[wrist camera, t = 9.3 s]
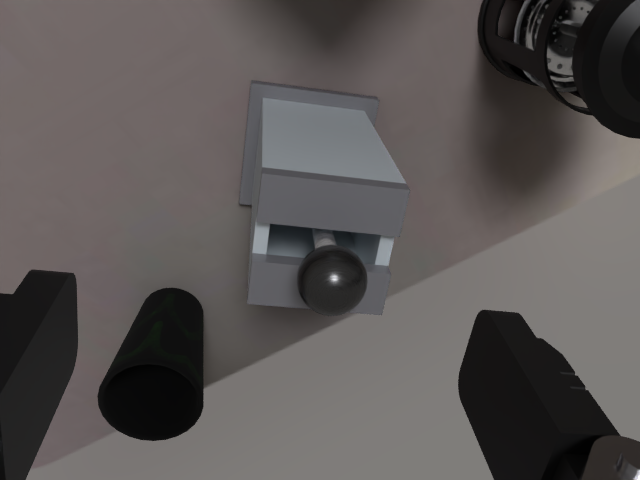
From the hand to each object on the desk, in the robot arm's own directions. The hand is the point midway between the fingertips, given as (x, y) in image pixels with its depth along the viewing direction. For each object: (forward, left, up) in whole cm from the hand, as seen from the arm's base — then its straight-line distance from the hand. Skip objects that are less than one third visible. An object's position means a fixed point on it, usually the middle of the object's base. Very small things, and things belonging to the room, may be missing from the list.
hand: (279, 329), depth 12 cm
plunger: (-4, +8, -32) cm, 33 cm away
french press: (-20, -5, -38) cm, 43 cm away
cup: (+6, +25, -38) cm, 46 cm away
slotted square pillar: (-4, +8, -38) cm, 39 cm away
